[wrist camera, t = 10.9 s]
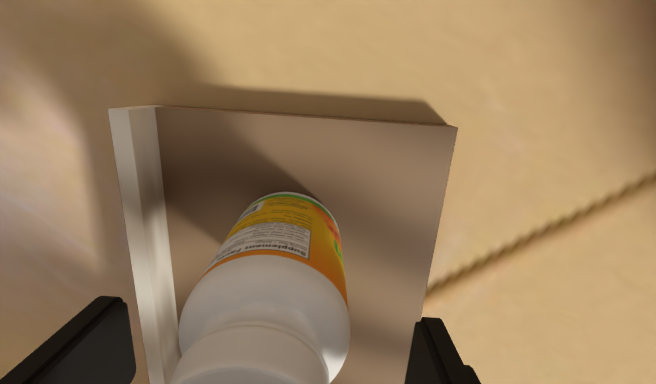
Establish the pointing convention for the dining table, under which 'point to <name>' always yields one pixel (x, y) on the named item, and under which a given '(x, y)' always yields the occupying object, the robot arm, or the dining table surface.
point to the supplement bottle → (269, 300)
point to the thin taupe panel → (271, 177)
